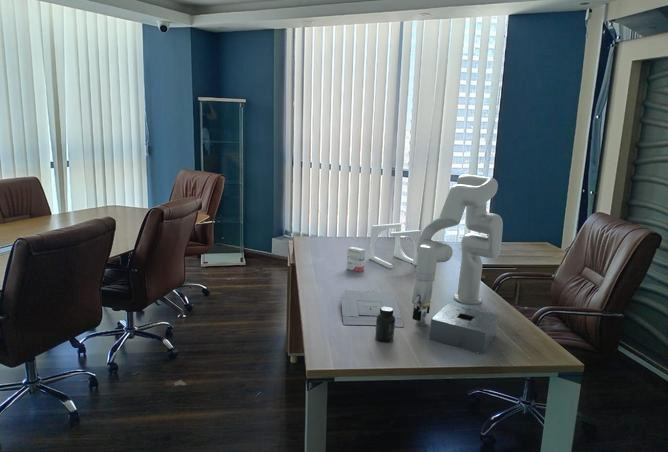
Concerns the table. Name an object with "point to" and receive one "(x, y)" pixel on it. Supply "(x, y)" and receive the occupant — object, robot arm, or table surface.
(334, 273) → the table surface
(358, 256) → the ink box
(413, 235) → the white frame stand
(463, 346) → the grey square platform
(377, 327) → the supplement bottle
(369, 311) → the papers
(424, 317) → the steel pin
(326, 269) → the table surface
